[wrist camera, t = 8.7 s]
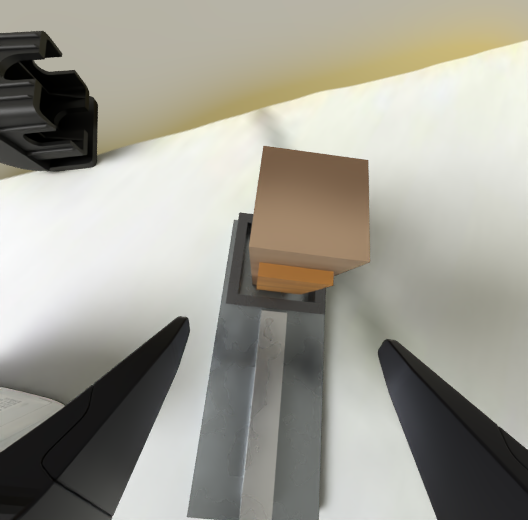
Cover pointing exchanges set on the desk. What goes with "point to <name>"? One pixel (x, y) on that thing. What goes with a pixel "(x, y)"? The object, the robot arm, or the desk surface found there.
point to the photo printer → (22, 414)
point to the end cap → (43, 109)
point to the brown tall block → (308, 220)
